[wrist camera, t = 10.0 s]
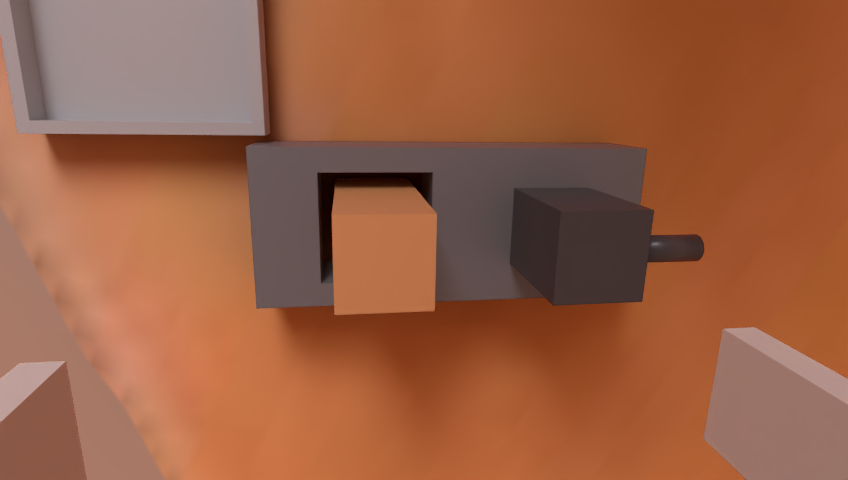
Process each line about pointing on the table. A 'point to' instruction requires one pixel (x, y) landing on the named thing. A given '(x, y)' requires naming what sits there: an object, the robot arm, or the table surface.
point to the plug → (382, 247)
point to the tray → (136, 66)
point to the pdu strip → (471, 218)
